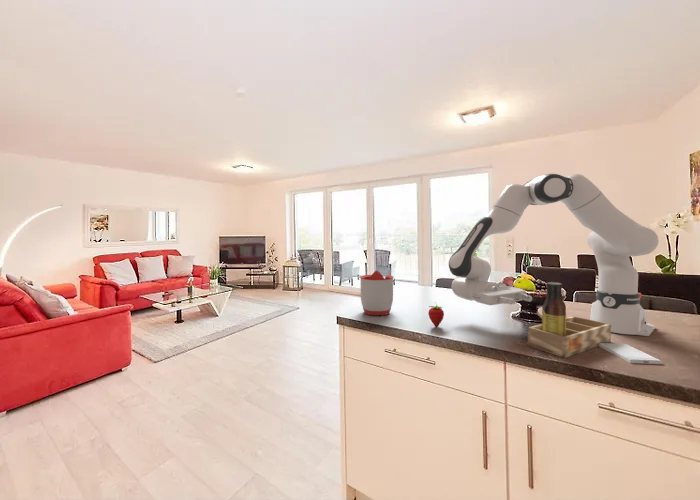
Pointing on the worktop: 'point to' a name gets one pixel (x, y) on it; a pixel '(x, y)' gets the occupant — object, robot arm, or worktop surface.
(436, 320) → the strawberry
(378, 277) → the citrus juicer
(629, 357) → the hard drive
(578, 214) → the robot arm
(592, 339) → the condiment caddy
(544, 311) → the sauce bottle
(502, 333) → the worktop surface
